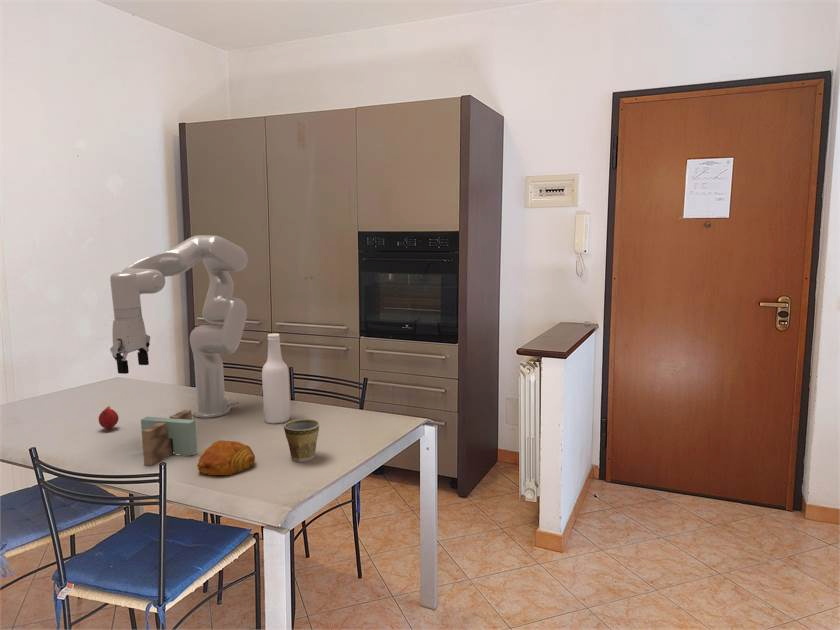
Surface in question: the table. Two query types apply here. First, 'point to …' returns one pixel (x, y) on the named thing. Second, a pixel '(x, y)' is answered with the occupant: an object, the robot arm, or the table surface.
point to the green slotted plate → (176, 433)
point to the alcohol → (275, 384)
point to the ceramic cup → (302, 438)
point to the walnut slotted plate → (159, 440)
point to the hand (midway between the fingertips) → (133, 369)
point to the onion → (108, 418)
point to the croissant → (225, 458)
